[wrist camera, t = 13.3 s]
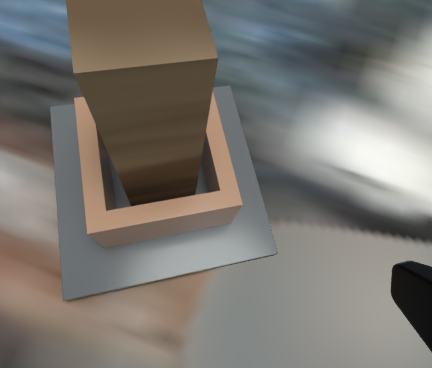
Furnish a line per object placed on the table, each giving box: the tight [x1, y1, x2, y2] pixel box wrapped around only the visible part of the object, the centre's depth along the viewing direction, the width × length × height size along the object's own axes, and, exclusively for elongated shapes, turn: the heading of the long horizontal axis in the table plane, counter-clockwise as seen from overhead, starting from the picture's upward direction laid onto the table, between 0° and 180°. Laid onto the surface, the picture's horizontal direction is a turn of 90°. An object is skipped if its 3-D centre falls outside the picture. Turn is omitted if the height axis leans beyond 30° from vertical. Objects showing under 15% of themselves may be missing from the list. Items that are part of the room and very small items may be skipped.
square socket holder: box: [50, 86, 278, 301], centre depth 20 cm, size 13×13×5 cm
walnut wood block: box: [66, 0, 218, 206], centre depth 16 cm, size 4×4×13 cm
